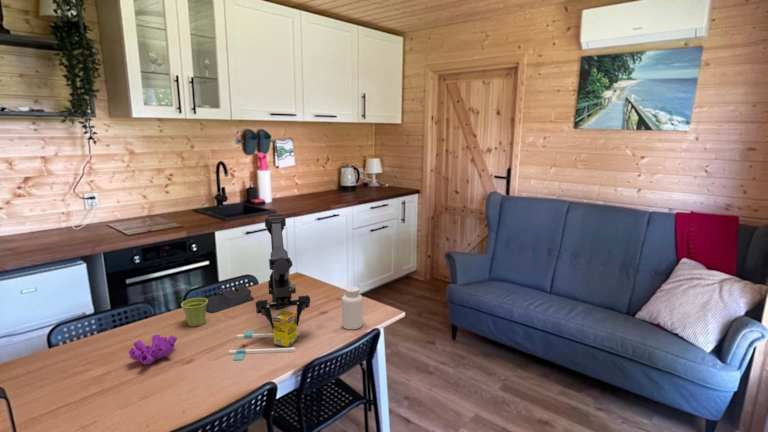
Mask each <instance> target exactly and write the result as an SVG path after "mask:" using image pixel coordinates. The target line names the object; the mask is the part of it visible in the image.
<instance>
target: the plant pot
mask: <svg viewBox="0 0 768 432" xmlns="http://www.w3.org/2000/svg"><path fill="white" fill-rule="evenodd" d="M207 302H208V300H207V298H204V297H193V298H190V299H186V300H184V301H182V302H181V304H180V306H181V308H182V310H183V311H184V313H185V318H186V321H187V325H188V326H189V327H197V326H198V327H199V326H201V325H204V324H205V322H206V305H207Z"/></svg>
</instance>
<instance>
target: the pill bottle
mask: <svg viewBox="0 0 768 432" xmlns="http://www.w3.org/2000/svg"><path fill="white" fill-rule="evenodd" d="M363 305H364V303H363V296H362V295H361V294H360V288H359V287H358V286H348V287H345V293H344V295H342V297H341V324H342V325H341V326H342V327H343V328H344V329H346V330H357V329H360V328H362V327H363V323H364V322H363V319H364V318H363V310H364V309H363V307H364V306H363Z"/></svg>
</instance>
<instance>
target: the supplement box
mask: <svg viewBox="0 0 768 432" xmlns="http://www.w3.org/2000/svg"><path fill="white" fill-rule="evenodd" d="M296 316H297V312H292V311H287V310H281V311H280V312H279V313H277V314H276V315H274V316H272V320H273V327H274V329H273V333H274V337H273V346H274V347H275V346H276V347H278V348H291V347H292V345H294V344H295V343H297V341H298V336H297V332H298V331H297V330H298V329H297V327H298V326H297V324H296Z"/></svg>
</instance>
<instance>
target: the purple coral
mask: <svg viewBox="0 0 768 432" xmlns="http://www.w3.org/2000/svg"><path fill="white" fill-rule="evenodd" d="M177 339H178V337H177V336H174V335H169V337H167V336H161V335H160V334H154V335H152V339H151V344H148V345H145V343H144V342H143V341H142V339H141V340H140V339H138V340H136V341H135V342H133V346H134V347H131V348H130V349H129V350H128V354H129V357H130V358H131V359H132V360H134V361H137V362H141V364H143V365H151V364H152V363H155V361H157V360H159V359H162V358H165V357H166V356H169V354H171V353H172V352H173V351H174V349H175V346H176V345H175V343H176V342H177Z"/></svg>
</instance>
